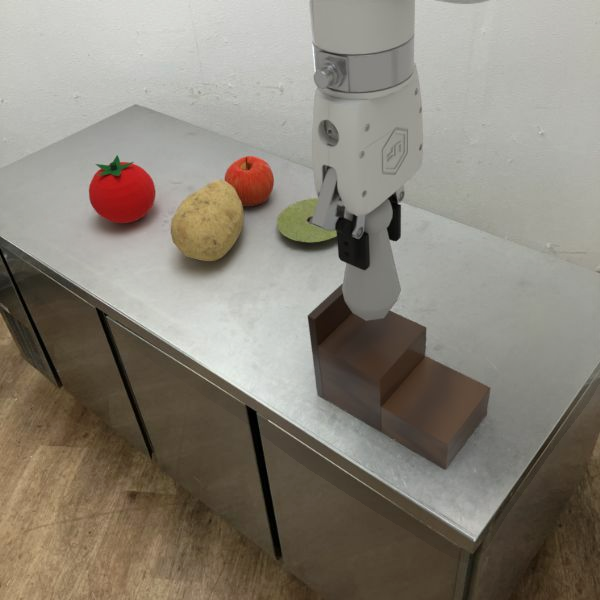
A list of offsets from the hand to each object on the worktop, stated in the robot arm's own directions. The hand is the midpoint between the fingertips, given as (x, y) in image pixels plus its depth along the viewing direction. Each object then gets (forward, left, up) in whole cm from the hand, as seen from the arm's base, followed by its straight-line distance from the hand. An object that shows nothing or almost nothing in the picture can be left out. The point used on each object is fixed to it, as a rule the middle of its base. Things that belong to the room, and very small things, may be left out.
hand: (370, 247), depth 61 cm
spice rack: (-2, +3, -21) cm, 21 cm away
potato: (+12, -35, -21) cm, 42 cm away
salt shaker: (0, 0, -8) cm, 8 cm away
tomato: (+24, -49, -21) cm, 58 cm away
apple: (+4, -45, -21) cm, 50 cm away
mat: (-3, -33, -21) cm, 39 cm away
